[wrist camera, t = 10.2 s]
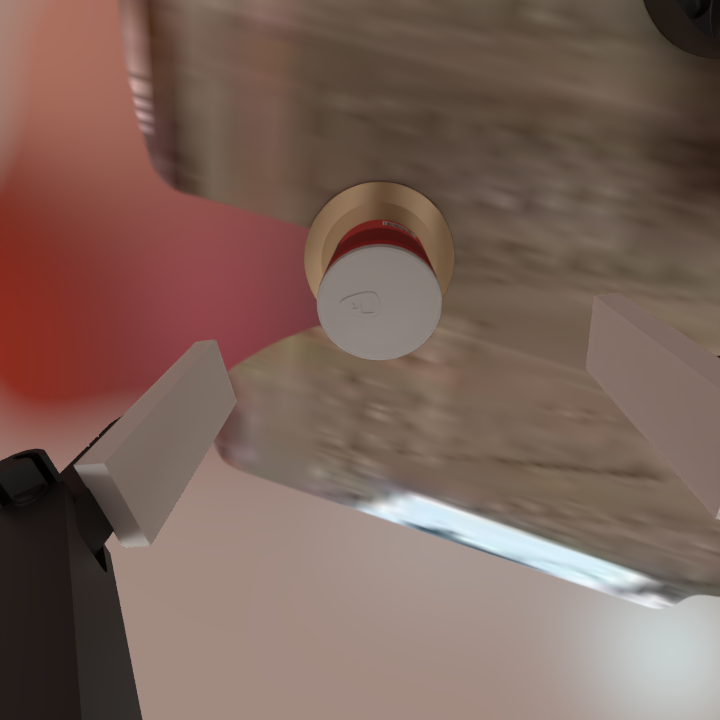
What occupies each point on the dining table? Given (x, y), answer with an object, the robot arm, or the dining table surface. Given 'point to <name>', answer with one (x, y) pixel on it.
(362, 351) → the canned food
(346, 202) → the disc
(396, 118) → the dining table surface
